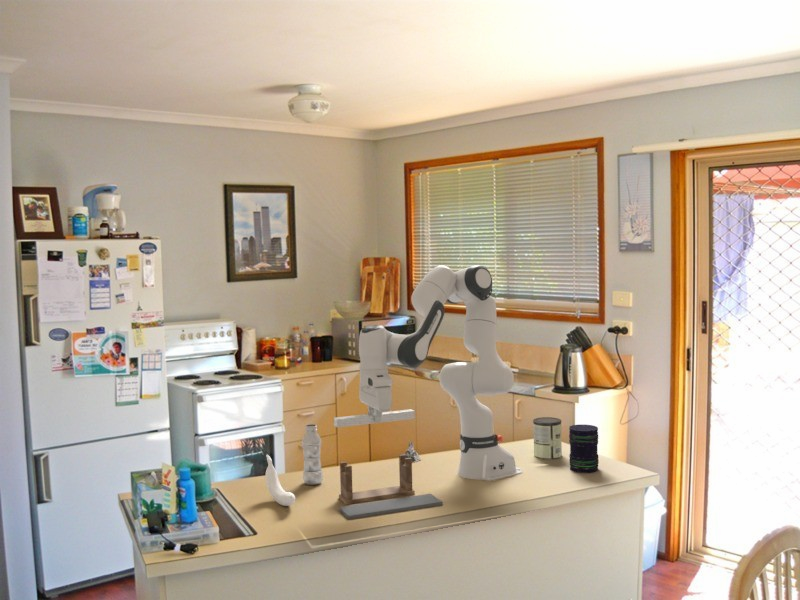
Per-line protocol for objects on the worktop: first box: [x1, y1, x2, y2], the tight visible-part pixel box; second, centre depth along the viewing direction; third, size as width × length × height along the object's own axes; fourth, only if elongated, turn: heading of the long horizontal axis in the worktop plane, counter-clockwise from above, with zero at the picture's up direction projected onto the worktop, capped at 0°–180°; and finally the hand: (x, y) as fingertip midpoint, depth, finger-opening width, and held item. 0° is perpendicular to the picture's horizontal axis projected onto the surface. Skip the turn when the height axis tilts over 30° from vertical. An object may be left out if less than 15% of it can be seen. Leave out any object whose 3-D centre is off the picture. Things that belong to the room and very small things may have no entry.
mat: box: [338, 493, 444, 520], centre depth 239 cm, size 30×9×1 cm, turn 112°
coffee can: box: [532, 416, 563, 461], centre depth 292 cm, size 10×10×14 cm
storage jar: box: [568, 424, 599, 474], centre depth 275 cm, size 10×10×15 cm
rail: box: [333, 408, 416, 428], centre depth 250 cm, size 26×3×2 cm, turn 112°
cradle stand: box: [338, 453, 416, 505], centre depth 251 cm, size 23×7×12 cm, turn 112°
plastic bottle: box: [301, 423, 324, 486], centre depth 265 cm, size 6×7×20 cm
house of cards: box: [404, 441, 422, 463], centre depth 293 cm, size 9×9×8 cm
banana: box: [265, 454, 296, 507], centre depth 244 cm, size 5×19×15 cm, turn 35°
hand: (375, 420), depth 250 cm, fingers closed on rail, 3 cm apart
